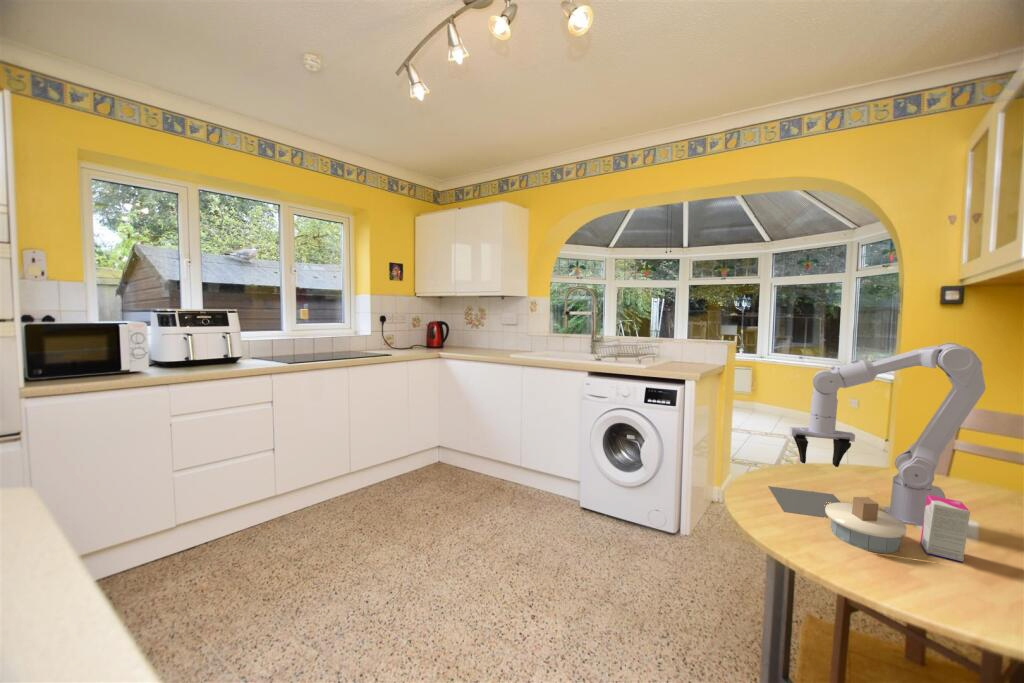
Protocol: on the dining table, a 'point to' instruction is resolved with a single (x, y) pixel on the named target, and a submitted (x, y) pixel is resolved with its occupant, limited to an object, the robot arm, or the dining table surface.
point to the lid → (865, 518)
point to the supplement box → (945, 528)
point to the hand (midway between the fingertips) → (818, 463)
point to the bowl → (865, 540)
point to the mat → (803, 501)
